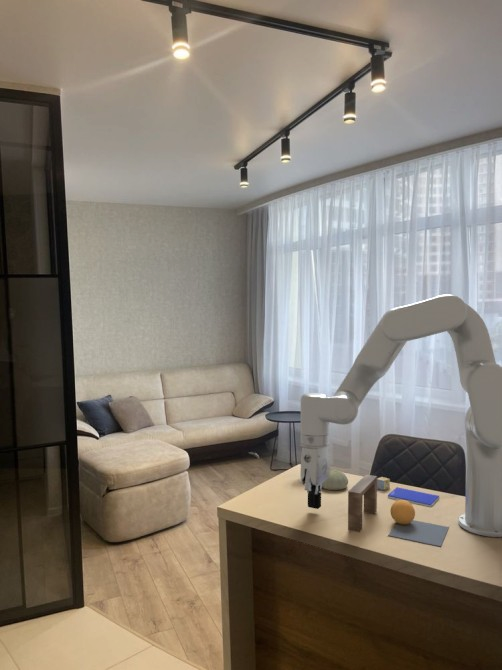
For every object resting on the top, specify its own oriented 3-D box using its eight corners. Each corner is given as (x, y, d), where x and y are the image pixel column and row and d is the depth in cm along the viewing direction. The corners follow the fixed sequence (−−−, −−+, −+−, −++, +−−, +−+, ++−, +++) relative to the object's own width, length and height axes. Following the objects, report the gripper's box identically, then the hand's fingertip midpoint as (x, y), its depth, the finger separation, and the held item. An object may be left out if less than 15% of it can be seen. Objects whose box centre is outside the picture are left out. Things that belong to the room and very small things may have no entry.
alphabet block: (375, 488, 156) (375, 478, 156) (381, 485, 158) (381, 476, 158) (383, 490, 154) (383, 480, 154) (390, 488, 156) (390, 478, 155)
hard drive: (387, 494, 148) (431, 503, 140) (397, 486, 154) (439, 495, 147) (387, 499, 148) (431, 509, 141) (397, 491, 154) (439, 500, 147)
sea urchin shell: (353, 485, 153) (334, 467, 153) (334, 503, 153) (315, 485, 153) (348, 475, 162) (330, 458, 162) (330, 493, 162) (312, 475, 162)
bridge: (376, 511, 137) (377, 476, 137) (359, 532, 124) (360, 493, 124) (365, 509, 139) (366, 474, 138) (348, 530, 126) (348, 491, 125)
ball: (388, 512, 133) (410, 524, 131) (385, 519, 128) (407, 532, 126) (397, 492, 133) (419, 504, 130) (394, 498, 127) (417, 511, 125)
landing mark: (448, 527, 127) (448, 526, 127) (440, 547, 116) (440, 546, 116) (399, 518, 133) (399, 517, 133) (388, 535, 122) (388, 535, 122)
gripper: (317, 447, 127) (316, 519, 128) (337, 435, 140) (337, 500, 141) (290, 444, 131) (289, 514, 132) (312, 432, 144) (312, 496, 145)
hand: (314, 506), depth 137 cm, fingers closed
